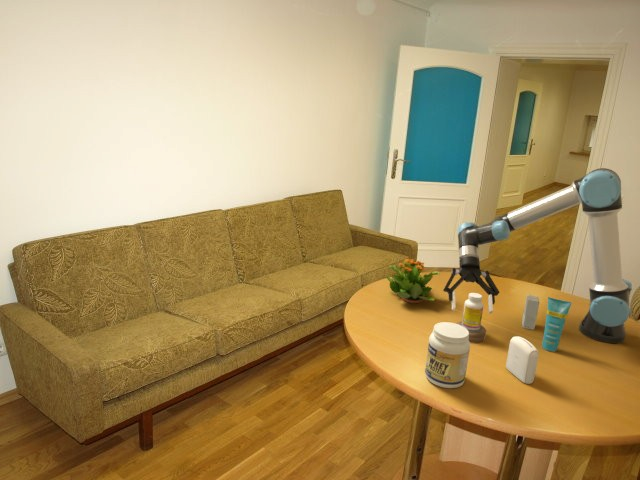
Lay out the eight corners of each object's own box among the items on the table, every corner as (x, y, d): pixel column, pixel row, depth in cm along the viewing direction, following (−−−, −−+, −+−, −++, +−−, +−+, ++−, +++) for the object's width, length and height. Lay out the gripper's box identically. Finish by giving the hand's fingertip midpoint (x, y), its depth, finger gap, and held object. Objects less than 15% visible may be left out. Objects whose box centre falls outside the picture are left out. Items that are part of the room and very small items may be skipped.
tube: (537, 348, 166) (547, 298, 161) (538, 342, 170) (548, 294, 165) (560, 354, 162) (571, 304, 157) (561, 348, 166) (572, 299, 161)
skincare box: (534, 330, 180) (539, 301, 176) (522, 328, 181) (527, 299, 178) (532, 323, 185) (538, 296, 182) (521, 321, 187) (526, 294, 183)
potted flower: (451, 308, 196) (456, 269, 191) (403, 314, 188) (407, 274, 183) (418, 286, 219) (422, 251, 214) (374, 291, 210) (377, 255, 205)
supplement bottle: (481, 332, 169) (486, 299, 165) (462, 329, 170) (466, 297, 166) (478, 324, 175) (483, 292, 172) (460, 322, 176) (465, 290, 173)
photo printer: (503, 367, 152) (509, 333, 149) (514, 366, 153) (520, 332, 150) (523, 385, 143) (530, 349, 139) (535, 383, 144) (542, 348, 140)
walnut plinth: (491, 339, 171) (492, 331, 170) (469, 344, 166) (470, 336, 165) (469, 326, 180) (470, 318, 180) (448, 331, 176) (449, 323, 175)
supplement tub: (416, 377, 144) (422, 327, 140) (437, 363, 153) (443, 316, 148) (451, 395, 136) (459, 343, 131) (471, 379, 144) (479, 330, 140)
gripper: (498, 266, 184) (503, 316, 174) (435, 261, 186) (436, 311, 176) (504, 257, 177) (510, 309, 167) (438, 252, 179) (440, 304, 169)
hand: (472, 310), depth 171 cm, fingers open, 13 cm apart
